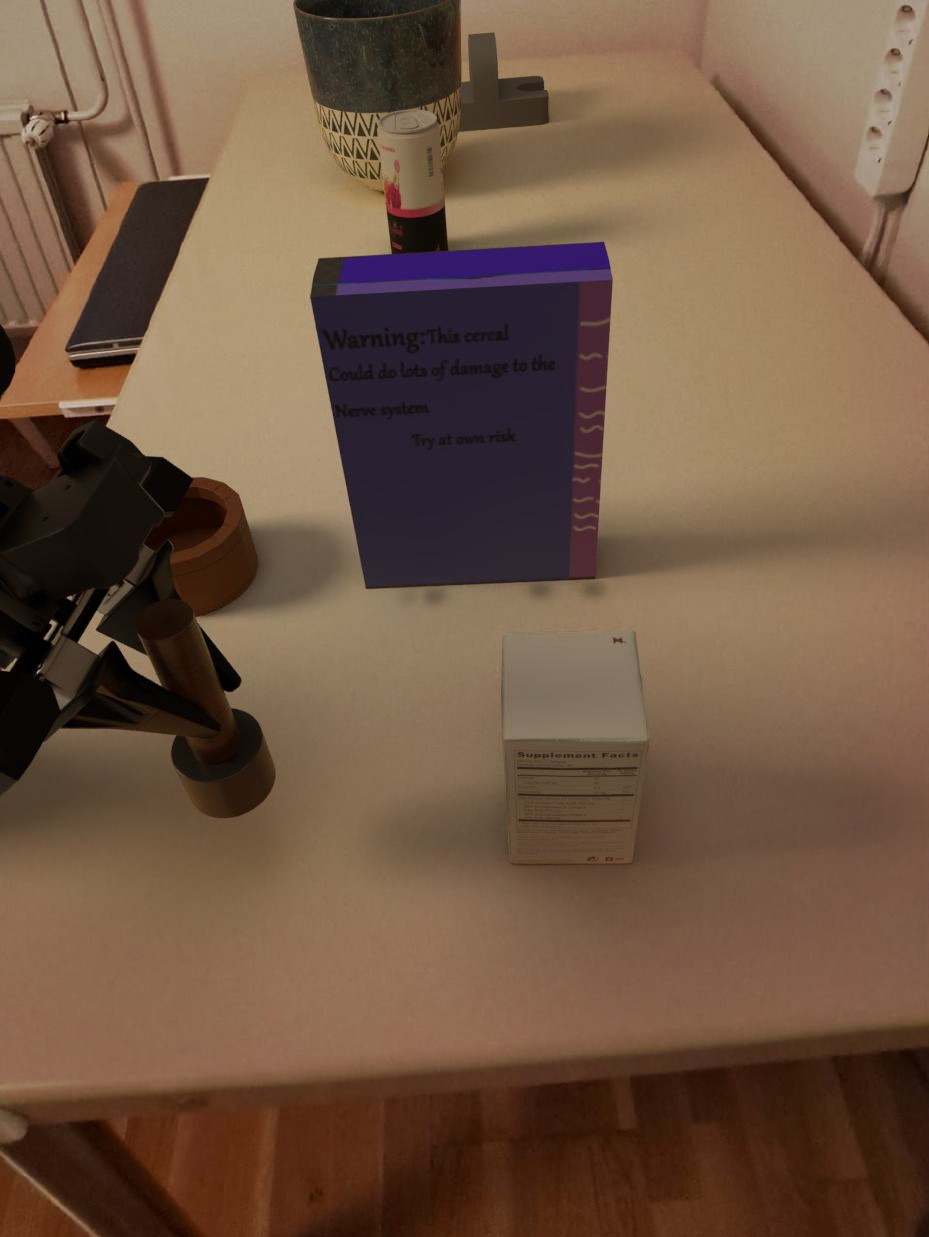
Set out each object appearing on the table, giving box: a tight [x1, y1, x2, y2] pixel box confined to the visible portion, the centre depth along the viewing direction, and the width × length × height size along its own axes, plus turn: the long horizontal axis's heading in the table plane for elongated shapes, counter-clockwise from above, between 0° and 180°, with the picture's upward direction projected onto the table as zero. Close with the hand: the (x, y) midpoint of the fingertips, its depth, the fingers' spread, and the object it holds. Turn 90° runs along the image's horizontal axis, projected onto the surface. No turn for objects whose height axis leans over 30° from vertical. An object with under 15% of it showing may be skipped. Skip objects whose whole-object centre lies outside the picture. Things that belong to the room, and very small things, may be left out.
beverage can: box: [377, 109, 449, 254], centre depth 103 cm, size 7×7×15 cm
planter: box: [292, 0, 462, 192], centre depth 116 cm, size 20×20×21 cm
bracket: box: [458, 31, 550, 132], centre depth 135 cm, size 10×18×11 cm, turn 93°
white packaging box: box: [500, 630, 650, 865], centre depth 52 cm, size 7×7×13 cm
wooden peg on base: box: [136, 599, 277, 819], centre depth 47 cm, size 5×5×13 cm
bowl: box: [144, 476, 259, 617], centre depth 72 cm, size 10×10×6 cm
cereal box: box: [309, 241, 614, 589], centre depth 64 cm, size 17×5×24 cm, turn 90°
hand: (227, 709), depth 47 cm, fingers closed on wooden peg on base, 2 cm apart
